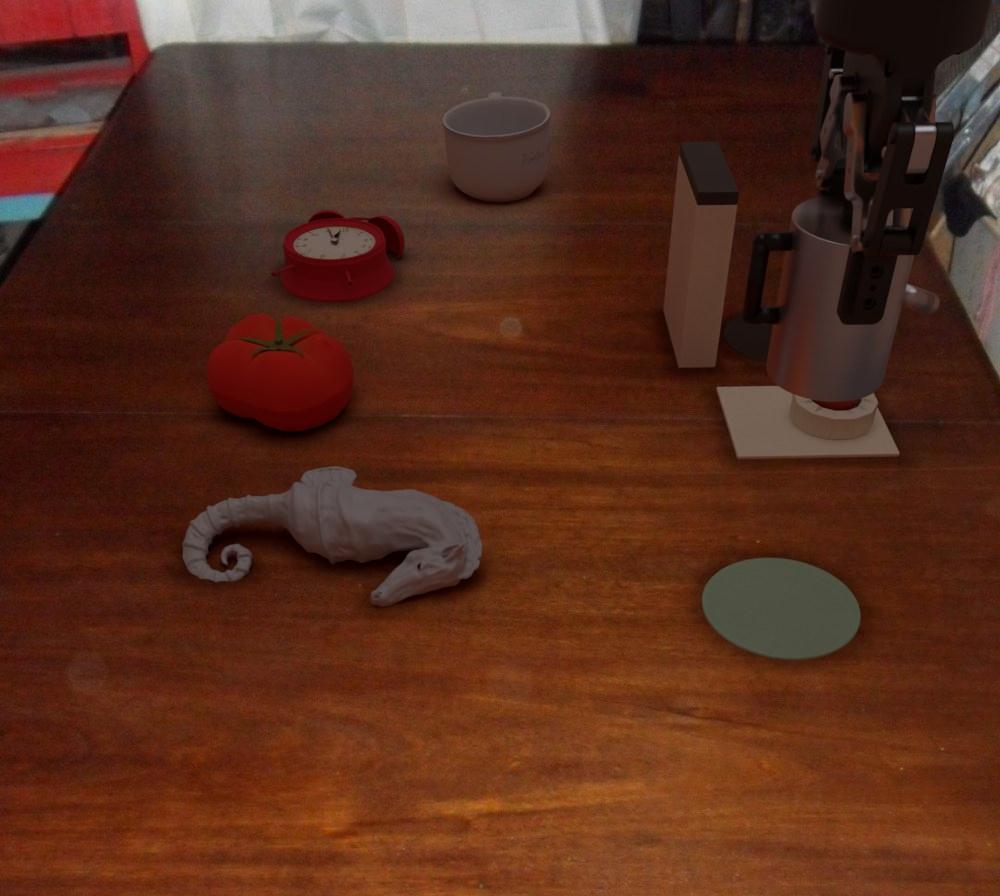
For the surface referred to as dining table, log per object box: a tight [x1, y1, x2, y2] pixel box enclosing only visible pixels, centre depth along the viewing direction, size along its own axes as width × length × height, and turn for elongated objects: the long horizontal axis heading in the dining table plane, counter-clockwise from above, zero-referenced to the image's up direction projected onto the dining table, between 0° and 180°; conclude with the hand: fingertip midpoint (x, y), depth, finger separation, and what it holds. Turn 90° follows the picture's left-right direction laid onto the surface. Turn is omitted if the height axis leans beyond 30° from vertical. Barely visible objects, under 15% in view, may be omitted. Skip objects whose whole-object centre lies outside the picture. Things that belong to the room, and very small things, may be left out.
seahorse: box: [181, 465, 484, 608], centre depth 78 cm, size 5×12×20 cm
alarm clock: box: [271, 209, 406, 304], centre depth 109 cm, size 10×6×15 cm
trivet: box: [700, 557, 862, 661], centre depth 76 cm, size 10×10×1 cm
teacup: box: [441, 91, 552, 203], centre depth 122 cm, size 14×11×8 cm
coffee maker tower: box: [662, 141, 740, 369], centre depth 96 cm, size 3×10×15 cm, turn 2°
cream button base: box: [715, 385, 901, 460], centre depth 90 cm, size 12×10×3 cm
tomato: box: [205, 312, 355, 432], centre depth 92 cm, size 10×11×6 cm
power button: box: [814, 400, 857, 411], centre depth 89 cm, size 3×3×2 cm
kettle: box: [742, 195, 941, 402], centre depth 63 cm, size 10×6×9 cm, turn 91°
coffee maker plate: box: [722, 312, 773, 364], centre depth 101 cm, size 10×10×1 cm
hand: (842, 288), depth 63 cm, fingers closed on kettle, 6 cm apart
